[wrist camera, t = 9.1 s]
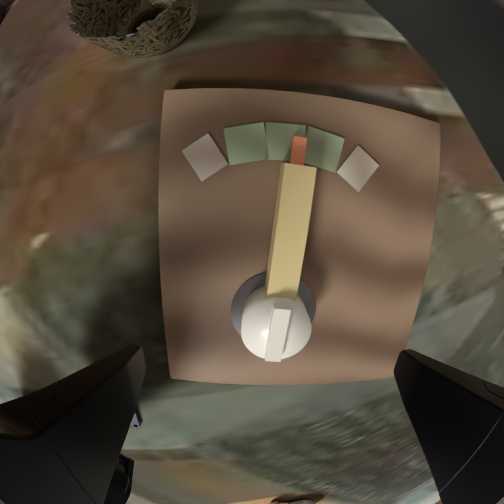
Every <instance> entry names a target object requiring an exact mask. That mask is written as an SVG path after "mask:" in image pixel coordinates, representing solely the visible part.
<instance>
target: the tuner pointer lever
mask: <svg viewBox="0 0 504 504" xmlns="http://www.w3.org/2000/svg"><path fill="white" fill-rule="evenodd" d="M306 143H307V138H304V137H298V136H293V137H292V145H291V154H290V162H289V163H283V164H281V167H280V175H279V183H278V191H277V199H276V207H275V215H274V222H273V230H272V237H271V245H270V252H269V260H268V267H267V274H266V281H265V286H262V287H259V288H257V289H256V290H254V291H253V292H252V293H251V294H250V295H249V296H248V297H247V299H246V300H245V302H244V305H243V309H242V324H241V336H242V340H243V342H244V344H245V346H246V347H247V348H248V350H249V351H251V352H252V353H253V354H255V355H256V356H258V357H261V358H264V359H265V361H272V362H281V359H285V358H288V357H290V356H293V355H294V354H296V353H298V352H299V351H300V350H301V349H302V348H303V347H304V346H305V345H306V344H307V342H308V340H309V338H310V335H311V321H310V318H309V316H308V313H307V311H306V308H305V306H304V303H303V301H302V299H301V297H300V296H299V294H298V293H297V292H298V286H299V281H300V275H301V269H302V263H303V258H304V252H305V246H306V239H307V233H308V227H309V220H310V213H311V206H312V199H313V192H314V185H315V177H316V169H317V168H315V167H309V166H304V160H305V152H306Z"/></svg>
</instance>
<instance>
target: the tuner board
mask: <svg viewBox="0 0 504 504" xmlns="http://www.w3.org/2000/svg"><path fill="white" fill-rule="evenodd" d="M293 136H298V137H304V138H307V143H306V152H305V160H304V166H309V167H315V168H317V169H316V177H315V185H314V192H313V199H312V206H311V213H310V220H309V227H308V233H307V239H306V246H305V252H304V258H303V263H302V269H301V275H300V281H299V286H298V292H297V293H298V294H299V296H300V297H301V299H302V301H303V303H304V306H305V308H306V311H307V313H308V316H309V318H310V321H311V335H310V338H309V340H308V342H307V344H306V345H305V346H304V347H303V348H302V349H301V350H300V351H299V352H298V353H296V354H294V355H293V356H290V357H288V358H285V359H281V362H272V361H265V359H264V358H261V357H258V356H256V355H255V354H253V353H252V352H251V351H249V350H248V348H247V347H246V346H245V344H244V342H243V340H242V336H241V324H242V309H243V305H244V302H245V300H246V299H247V297H248V296H249V295H250V294H251V293H252V292H253V291H254V290H256V289H257V288H259V287H262V286H265V281H266V274H267V267H268V260H269V252H270V245H271V237H272V230H273V222H274V215H275V207H276V199H277V191H278V183H279V175H280V167H281V164H283V163H289V162H290V154H291V145H292V137H293ZM439 169H440V123H437V122H434V121H431V120H428V119H425V118H422V117H418V116H415V115H411V114H408V113H404V112H401V111H397V110H393V109H389V108H385V107H381V106H376V105H372V104H367V103H362V102H358V101H352V100H347V99H341V98H335V97H329V96H322V95H315V94H308V93H299V92H289V91H278V90H264V89H242V88H198V89H177V90H164V97H163V108H162V120H161V135H160V153H159V184H158V229H159V260H160V279H161V294H162V307H163V318H164V329H165V338H166V347H167V355H168V363H169V370H170V377H171V378H172V379H180V380H190V381H200V382H212V383H227V384H248V385H306V384H328V383H342V382H354V381H364V380H373V379H381V378H389V377H394V367H395V364H396V361H397V358H398V355H399V353H400V352H401V351H402V350H405V347H406V344H407V341H408V338H409V335H410V331H411V328H412V325H413V321H414V318H415V314H416V311H417V307H418V303H419V300H420V296H421V292H422V287H423V283H424V279H425V274H426V269H427V265H428V259H429V254H430V249H431V243H432V237H433V230H434V223H435V215H436V207H437V197H438V185H439Z"/></svg>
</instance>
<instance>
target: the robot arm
mask: <svg viewBox="0 0 504 504" xmlns="http://www.w3.org/2000/svg"><path fill="white" fill-rule="evenodd" d="M145 372H146V365H145V358H144V351H143V348H142V347H141V346H137V345H129V346H127V347H125V348H123V349H121V350H119V351H117V352H115V353H113V354H111V355H109V356H107V357H105V358H103V359H101V360H99V361H97V362H95V363H93V364H91V365H89V366H87V367H85V368H83V369H81V370H79V371H77V372H75V373H73V374H71V375H69V376H67V377H65V378H63V379H61V380H59V381H57V382H56V383H53V384H51V385H49V386H46V387H44V388H42V389H40V390H37V391H35V392H33V393H30V394H27V395H25V396H22V397H19V398H17V399H14V400H11V401H8V402H5V403H2V404H0V504H125V503H126V502H127V500H128V498H129V496H130V492H131V485H132V475H133V466H134V460H132V459H130V458H127V457H126V456H124V455H122V454H121V453H120V452H121V449H122V446H123V443H124V441H125V438H126V435H127V432H128V430H129V427H132V428H136V429H139V428H140V426H141V424H140V421H139V417H138V414H137V411H136V408H137V404H138V400H139V396H140V392H141V388H142V384H143V380H144V376H145ZM394 377H395V379H396V382H397V385H398V388H399V392H400V395H401V398H402V401H403V404H404V406H405V409H406V411H407V414H408V416H409V418H410V420H411V423H412V425H413V428H414V430H415V432H416V435H417V437H418V439H419V442H420V444H421V447H422V449H423V452H424V454H425V457H426V460H427V462H428V465H429V467H430V470H431V473H432V476H433V478H434V481H435V484H436V487H437V489H438V492H439V496H440V499H441V502H442V504H504V387H501V386H498V385H496V384H493V383H490V382H488V381H485V380H482V379H480V378H478V377H475V376H473V375H471V374H468V373H466V372H463V371H461V370H458V369H456V368H454V367H451V366H449V365H447V364H444V363H442V362H439V361H437V360H435V359H432V358H430V357H428V356H425V355H423V354H421V353H418V352H416V351H414V350H411V349H408V350H402V351H401V352H400V353H399V355H398V358H397V361H396V364H395V367H394Z"/></svg>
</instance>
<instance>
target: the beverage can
mask: <svg viewBox="0 0 504 504" xmlns="http://www.w3.org/2000/svg"><path fill="white" fill-rule="evenodd" d="M3 13H4V11H3V5H2V4H0V22H1V20H2V17H3Z"/></svg>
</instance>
